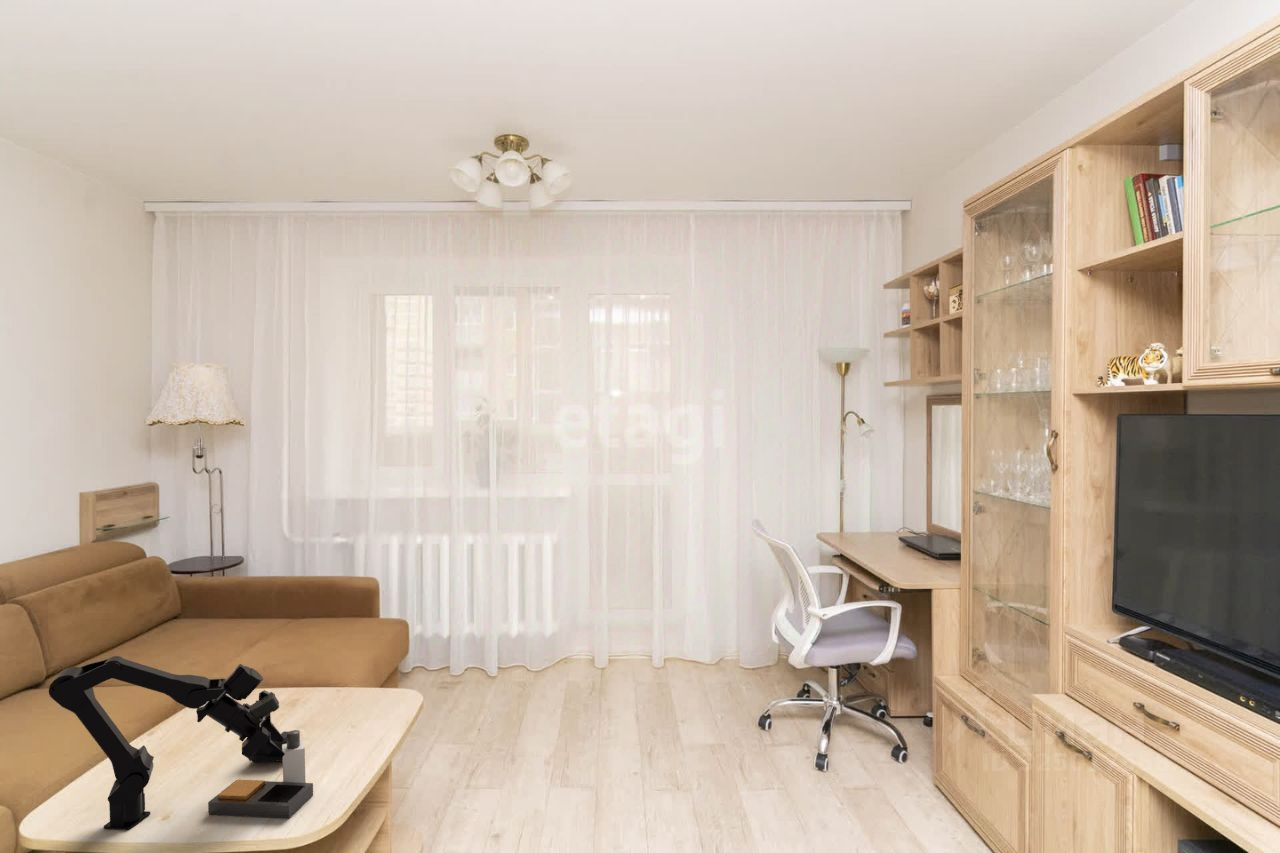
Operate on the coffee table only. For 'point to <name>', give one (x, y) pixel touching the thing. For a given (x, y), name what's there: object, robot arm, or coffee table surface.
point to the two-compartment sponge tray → (261, 799)
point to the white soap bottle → (294, 758)
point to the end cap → (270, 759)
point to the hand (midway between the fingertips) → (283, 747)
